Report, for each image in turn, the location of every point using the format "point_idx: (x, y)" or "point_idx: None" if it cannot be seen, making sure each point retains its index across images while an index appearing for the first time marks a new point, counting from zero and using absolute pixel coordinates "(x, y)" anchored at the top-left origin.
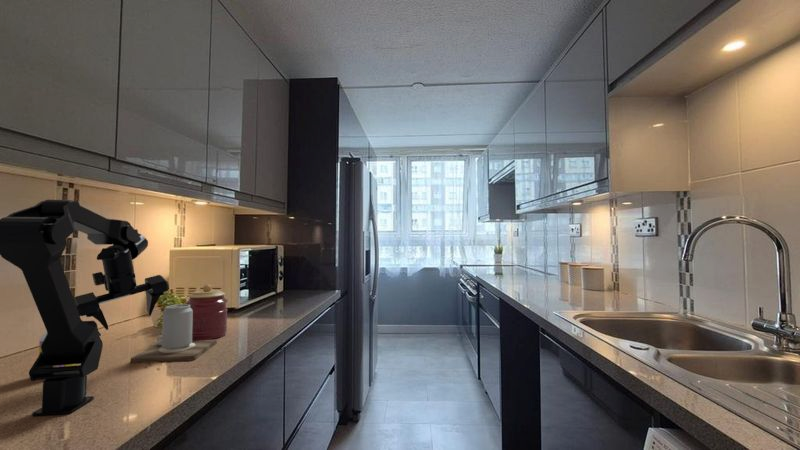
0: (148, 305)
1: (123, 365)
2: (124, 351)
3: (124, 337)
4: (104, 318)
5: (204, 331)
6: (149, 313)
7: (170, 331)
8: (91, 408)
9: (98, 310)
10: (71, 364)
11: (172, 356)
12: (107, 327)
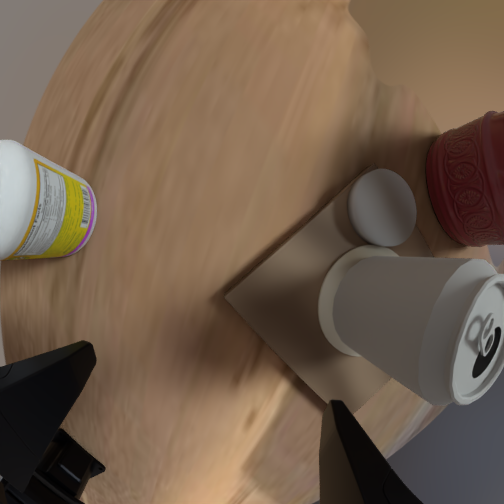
0: (331, 492)
1: (199, 301)
2: (268, 122)
3: (317, 6)
4: (45, 448)
5: (465, 233)
6: (321, 442)
7: (371, 359)
8: (104, 486)
9: (1, 476)
10: (71, 248)
11: (311, 388)
12: (85, 377)
